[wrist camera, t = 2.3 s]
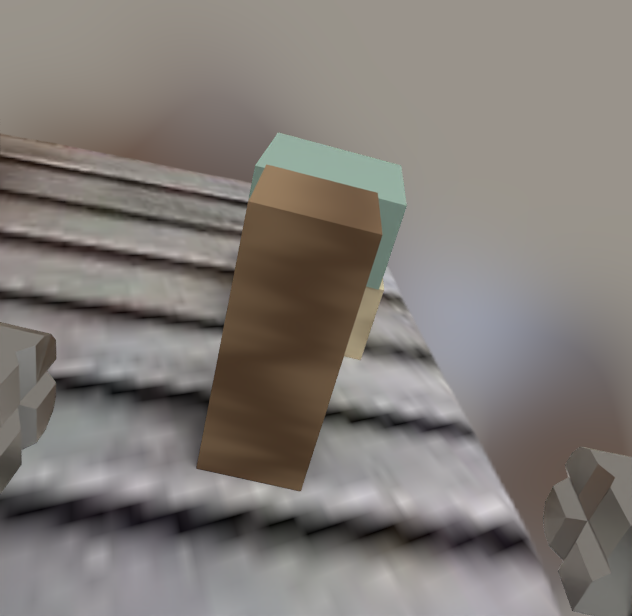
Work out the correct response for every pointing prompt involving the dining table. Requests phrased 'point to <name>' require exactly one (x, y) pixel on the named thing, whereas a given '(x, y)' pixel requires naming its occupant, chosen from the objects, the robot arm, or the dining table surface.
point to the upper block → (348, 172)
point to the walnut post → (287, 324)
